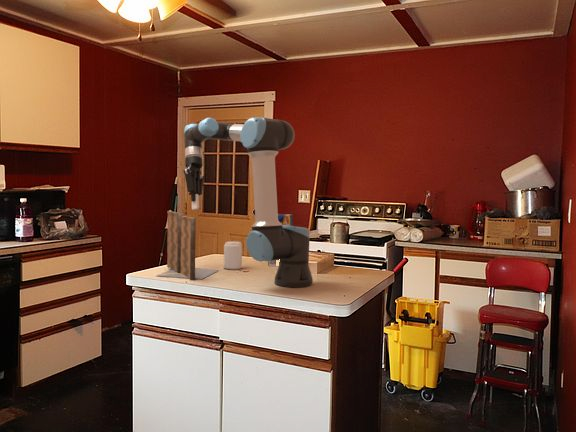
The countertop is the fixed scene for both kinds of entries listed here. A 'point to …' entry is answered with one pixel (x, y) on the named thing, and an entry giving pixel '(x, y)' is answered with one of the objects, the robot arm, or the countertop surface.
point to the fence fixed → (186, 246)
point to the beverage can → (232, 255)
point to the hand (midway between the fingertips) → (195, 209)
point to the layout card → (198, 275)
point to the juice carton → (284, 220)
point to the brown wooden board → (172, 240)
